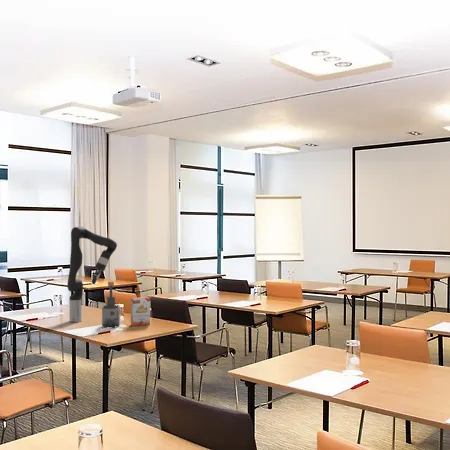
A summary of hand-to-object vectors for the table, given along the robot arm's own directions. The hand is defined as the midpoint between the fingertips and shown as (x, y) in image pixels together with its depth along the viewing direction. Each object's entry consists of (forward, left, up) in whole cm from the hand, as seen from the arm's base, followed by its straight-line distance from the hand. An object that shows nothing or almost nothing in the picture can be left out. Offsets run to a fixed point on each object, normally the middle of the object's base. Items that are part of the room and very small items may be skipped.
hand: (92, 283), depth 400 cm
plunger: (+3, +13, -11) cm, 17 cm away
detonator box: (+5, +13, -32) cm, 35 cm away
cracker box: (+6, +35, -33) cm, 48 cm away
